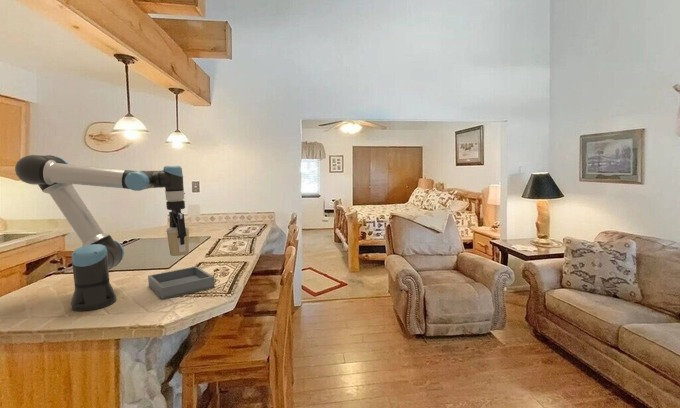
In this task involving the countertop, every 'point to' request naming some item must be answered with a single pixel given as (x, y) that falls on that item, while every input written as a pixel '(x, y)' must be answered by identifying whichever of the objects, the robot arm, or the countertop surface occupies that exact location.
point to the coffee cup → (173, 241)
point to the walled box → (180, 282)
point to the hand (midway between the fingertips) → (179, 249)
